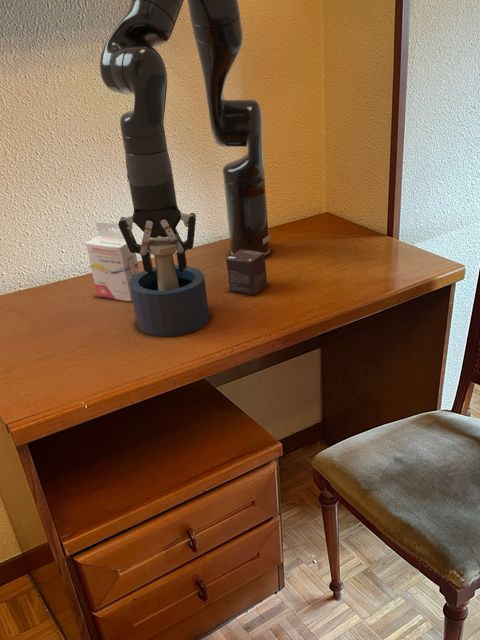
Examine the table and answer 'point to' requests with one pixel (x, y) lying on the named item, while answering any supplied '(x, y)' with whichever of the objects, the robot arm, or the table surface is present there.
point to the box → (246, 271)
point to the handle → (164, 262)
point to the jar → (170, 303)
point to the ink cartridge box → (111, 263)
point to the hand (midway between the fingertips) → (166, 271)
